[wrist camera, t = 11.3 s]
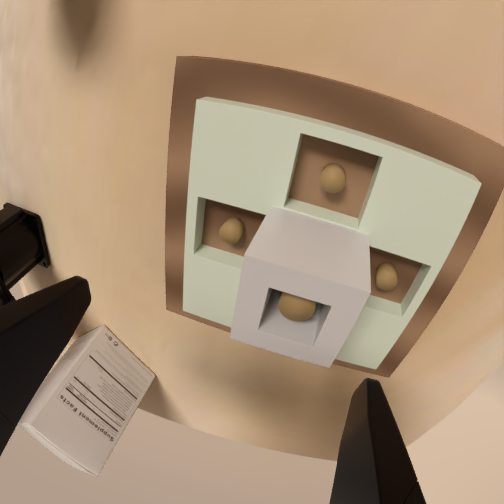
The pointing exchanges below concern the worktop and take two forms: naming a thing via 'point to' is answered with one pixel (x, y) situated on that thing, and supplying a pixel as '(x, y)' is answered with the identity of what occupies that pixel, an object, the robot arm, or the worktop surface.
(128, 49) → the worktop surface
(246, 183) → the flange plate
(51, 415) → the supplement box
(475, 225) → the walnut board
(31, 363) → the robot arm
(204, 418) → the worktop surface
